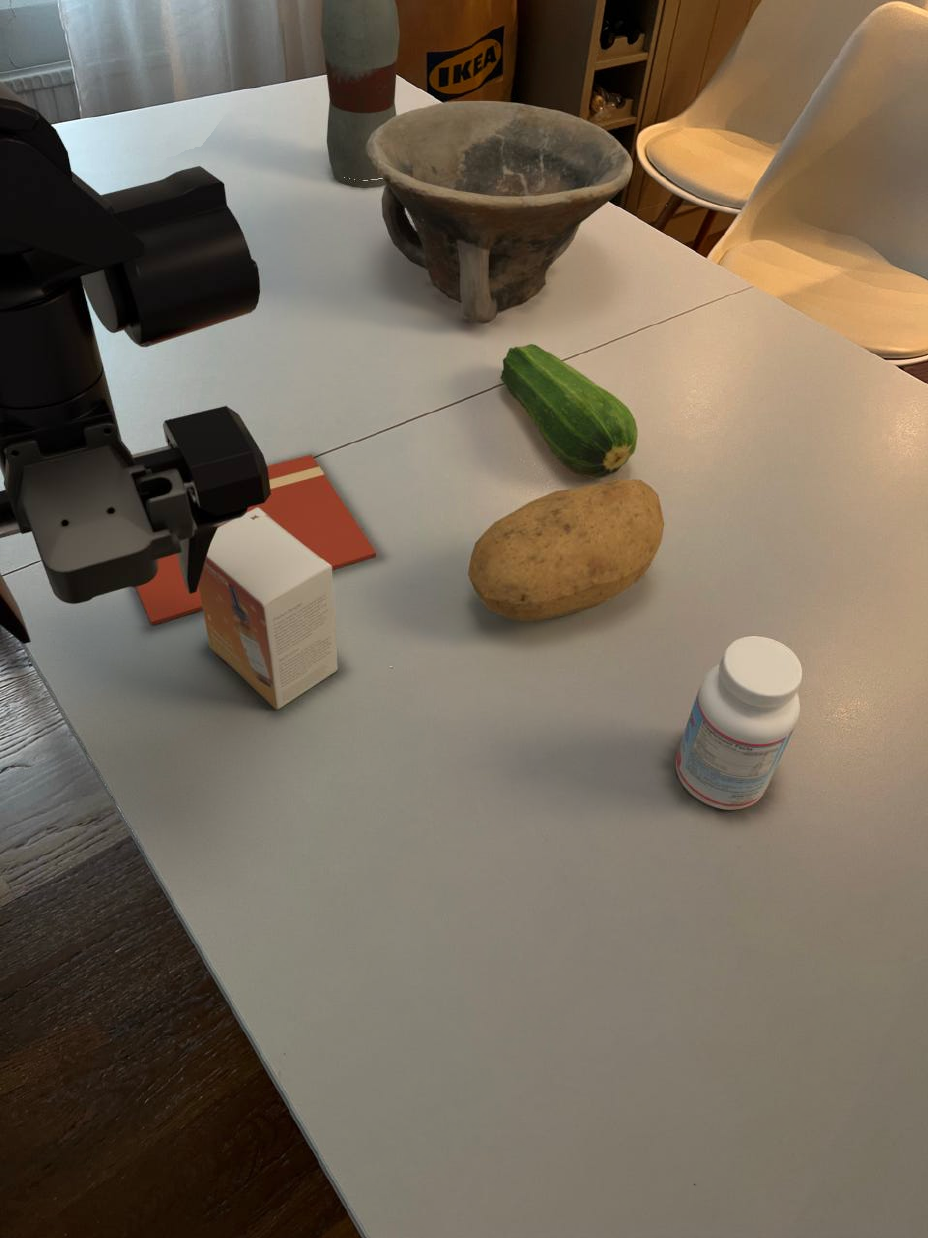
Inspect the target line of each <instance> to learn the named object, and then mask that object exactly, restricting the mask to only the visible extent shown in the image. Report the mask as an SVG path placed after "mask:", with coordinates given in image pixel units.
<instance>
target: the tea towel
mask: <svg viewBox="0 0 928 1238" xmlns="http://www.w3.org/2000/svg"><path fill="white" fill-rule="evenodd" d="M267 468H268V473H269V481H270V489H271V495H270V496H269V497H268V499H267V500H266V502H265V503H262V504H259V505H255V506H252V507H248V510H247V512H249V511H251V510H253V509H255V508H257V507H259V508H260V509H261V510H262V511H264V512H265V513H266V514H267V515H268V516H269V517H270V518H271V519H272V520H274V521H275V522H276V523H277V524H278V525H280V526H281V527H282V528H283V529H285V530H286V531H287V532H288V533H290V534H291V535H292V536H293V537H295V538H296V539H297V540H298V541H300V542H301V543H302V544H303V545H305V546H306V547H307V548H309V549H310V550H311V551H312V552H314V553H315V554H316V555H318V556H319V557H320V558H322V559H323V560H325V561H326V562H327V563H329V564H330V565H331V566H332V571H334V570H336V569H339V568H342V567H346V566H350V565H353V564H355V563H359V562H362V561H365V560H368V559H371V558H375V557H377V551H376V550H375V548H374V547H373V546H372V544H371V543H370V541H369V539H368V538H367V537H366V535H365V534H364V532H363V530H362V528H361V527H360V525H359V523H357V521H356V520H355V518H354V517H353V515H352V514H351V512H350V511H349V509H348V508H347V506H346V504H345V503H344V501H343V500H342V498H341V497H340V495H339V494H338V492H337V491H336V489H335V488H334V486H333V485H332V483H331V482H330V481H329V479H328V477H327V476H326V475H325V472H324V471H323V470H322V468H321V467H320V465H319V464H318V462H317V460H316V459H315V457H314V456H313V455H312V454H308V455H304V456H301V457H298V458H293V459H289V460H285V461H282V462H278V463H274V464H270V465H267ZM247 512H246V513H247ZM231 521H232V520H231ZM229 522H230V521H229ZM226 523H228V522H226ZM226 523H224V524H226ZM224 524H222V525H224ZM222 525H220V526H219V527H221V526H222ZM219 527H218V528H219ZM158 566H159V567H158V572H157V574H156V576H155V577H154V578H153V579H152V580H151V581H150V582H148V583H146V584H144V585H140V586H137V587H135V589H136V591H137V593H138V596H139V598H140V602H141V604H142V606H143V608H144V610H145V613H146V615H147V619H148V620H149V623H150V626H155V625H158V624H161V623H165V622H167V621H168V622H169V621H172V620H174V619H177V618H180V617H183V616H187V615H191V614H193V613H197V612H200V611H203V607H202V602H201V597H200V591H199V586H198V588H197V591H196V592H195V593H192V594H189V592H188V590H187V588H186V586H185V583H184V580H183V576H182V572H181V569H180V565H179V561H178V556H177V554H174V555H171V556H167V557H164V558H160V559H158Z"/></svg>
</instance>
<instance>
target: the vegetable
mask: <svg viewBox="0 0 928 1238" xmlns="http://www.w3.org/2000/svg"><path fill="white" fill-rule="evenodd" d="M502 366H503V367H502V371H501V375H500V377H499V378H500V380H501V382H502V383H504V385H505V386H506V389H507V390H508V391H509V393H510V394H511V396H513V398H514V399H515V400H516V401H517V403H519V404H520V405H521V406H522V408H523V409H524V410H525V412H526V413H527V414H528V415H529V417H530V418H531V420H532V422H533V424H534V425H535V426H536V428H537V430H538V432H539V433H540V434H541V436H542V439H543V441H544V442H545V443H546V445H547V446H548V448H549V450H550V452H551V453H552V454H553V455H554V456H555V457H556V458H557V459H558V460H559V461H560V462H561V463H562V464H563V465H564V466H565V467H566V468H567V469H568V470H570V471H572V472H573V473H575V474H577V475H581V476H584V477H587V478H593V479H600V478H605V477H607V476H608V475H612V474H615V473H617V472H618V471H619V470H620V469H621V468H622V467H623V466H624V465H625V464H626V463H627V461H628V460H630V458H631V457H632V455H633V454H634V453H635V451H636V448H637V441H638V426H637V421H636V418H635V416H634V415H633V414H632V412H631V410H630V409H629V407H628V406H627V405H626V404H624V403H623V402H622V401H621V400H620V399H619V398H618V397H616V396H615V395H614V394H612V393H611V392H609V391H608V390H606V389H604V388H603V387H601V386H600V385H599V384H597V383H595V382H594V381H592V380H591V379H589V378H588V377H587V376H585V375H584V374H583V373H581V372H580V371H578V369H576V368H574V367H573V366H571V365H570V364H567V363H566V362H564V360H562V359H560V358H559V357H558V356H557V355H555V354H553V353H551V352H548V351H546V350H545V349H543V348H541V347H539V345H536V344H533V343H529V344H527V345H524V346H515V347H509V349H508V351H507V353H506V356H505V357H504V358H503V359H502Z"/></svg>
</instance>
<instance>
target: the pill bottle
mask: <svg viewBox="0 0 928 1238" xmlns="http://www.w3.org/2000/svg"><path fill="white" fill-rule="evenodd" d="M802 680H803V667H802V664H801V662H800V660H799V658H798V657H797V655H796V654H795V653H794V652H793V651H792V650H791V649H790V648H789V647H788V646H787V645H785V644H783V643H781V642H780V641H777V640H775V639H772V638H769V637H766V636H759V635H756V636H755V635H749V636H744V637H740V638H737V639H736V640H734V641H732V642H731V643H730V644H729V645H728V646H727V648H726V649H725V651H724V653H723V655H722V658H721V660H720V662H719V663H717V664H716V665H714V666H713V667H711V669H709V670H708V672H707V673H706V674H705V675H704V677H703V678H702V680H701V683H700V685H699V687H698V691H697V694H696V696H695V700H694V703H693V705H692V709H691V711H690V714H689V717H688V720H687V723H686V726H685V728H684V729H685V730H684V732H683V736H682V739H681V741H680V744H679V747H678V751H677V754H676V758H675V759H676V760H675V769H676V775H677V776H678V779H679V781H680V783H681V784H682V786H683V787H684V788H685V789H686V791H687V792H688V793H689V794H691V796H693V797H694V798H696V799H697V800H699V801H700V802H702V803H704V804H706V805H708V806H711V807H713V808H716V809H720V810H724V811H725V810H726V811H727V810H728V811H735V810H741V809H745V808H748V807H751V806H752V805H754V804H755V803H756V802H758V801H759V800H760V799H761V798H762V797H763V796H764V794H765V793H766V791H767V788H768V787H769V785H770V783H771V780H772V778H773V776H774V774H775V772H776V770H777V767H778V765H779V763H780V762H781V761H780V760H781V759H782V756H783V754H784V752H785V749H786V748H787V745H788V743H789V741H790V739H791V736H792V734H793V732H794V730H795V728H796V725H797V723H798V720H799V717H800V713H801V712H800V711H801V702H800V697H799V694H798V690H799V688H800V685H801V682H802Z"/></svg>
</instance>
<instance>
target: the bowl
mask: <svg viewBox="0 0 928 1238" xmlns="http://www.w3.org/2000/svg"><path fill="white" fill-rule="evenodd" d="M396 115H397V116H395V117H393V118H391V119H390V120H388V121H387V122H386V123H385V124H383V125H381V126H380V127H379V128H377V129H376V130H375V131H374V132H373V133H372V134H371V136H370V138H369V140H368V143H367V145H366V155H367V157H368V158H369V160H370V162H371V163H372V165H373V167H374V168H375V170H376V171H377V173H378V174H379V175H380V176H381V177H382V178H383V179H384V181H385V182H386V183H385V185H384V188H383V193H382V195H381V199H380V200H381V214H382V215H381V216H382V219H383V222H384V225H385V227H386V230H387V233H388V235H389V237H390V240H391V241H392V244H393V245H394V247H396V248H397V250H399V252H400V253H401V254H402V255H403V256H404V257H405V258H406V259H407V260H408V261H409V262H410V263H412V264H414V265H416V266H418V267H420V268H421V269H424V270H426V271H427V274H428V277H429V279H430V282H431V284H432V286H433V287H434V288H435V289H437V290H438V291H439V292H440V293H442V294H443V295H445V296H446V297H447V298H448V299H450V300H453V301H455V302H457V303H459V304H461V308H462V314H463V316H464V318H465V319H466V320H467V321H469V322H472V323H479V324H488V323H489V324H490V322H492V321H494V320H495V318H496V317H497V315H498V314H499V313H501V312H503V311H506V310H508V309H509V310H510V309H511V308H514V307H517V306H520V305H523V304H525V303H526V302H528V301H530V300H531V299H532V298H533V297H535V296H536V295H538V294H539V292H541V290H542V289H543V288H544V287H545V285H546V284H547V282H546V275H547V272H548V270H549V268H550V267H551V266H553V264H554V263H555V262H556V261H557V260H558V259H559V258H560V257H561V256H562V255H563V254H564V253H565V252H566V251H567V249H568V248H569V247H570V245H571V244H572V243H573V241H574V239H575V237H576V235H577V233H578V231H579V228H580V226H581V223H583V222H584V221H585V220H587V219H589V217H590V216H592V215H593V214H594V213H596V211H599V209H601V208H602V207H603V206H605V205H606V204H608V202H610V201H611V200H612V199H613V198H614V197H616V195H617V194H618V193H619V192H620V191H622V190H623V189H624V188H625V187H626V186H627V185H628V184H629V182H630V180H631V177H632V174H633V167H634V163H633V159H632V157H631V155H630V154H629V151H628V150H627V149H626V148H625V147H624V146H623V145H622V144H621V143H620V141H619V140H618V139H617V138H616V137H615V136H613V135H612V134H611V133H609V132H608V131H607V130H605V129H604V128H603V127H600V126H599V125H597V124H594V123H592V122H590V121H588V120H585V119H584V118H581V117H578V116H575V115H573V114H571V113H567V112H564V111H560V110H557V109H550V108H546V107H540V106H535V105H530V104H525V103H520V102H509V101H500V100H499V101H496V100H460V101H459V100H457V101H445V102H439V103H435V104H431V105H428V106H424V107H421V108H416V109H412V110H408V111H406V112H403V113H400V114H396ZM406 212H407V213H408V215H409V216H410V219H411V220H410V219H409V216H408V215H407V213H406ZM411 221H412V223H413V225H412V223H411Z"/></svg>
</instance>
